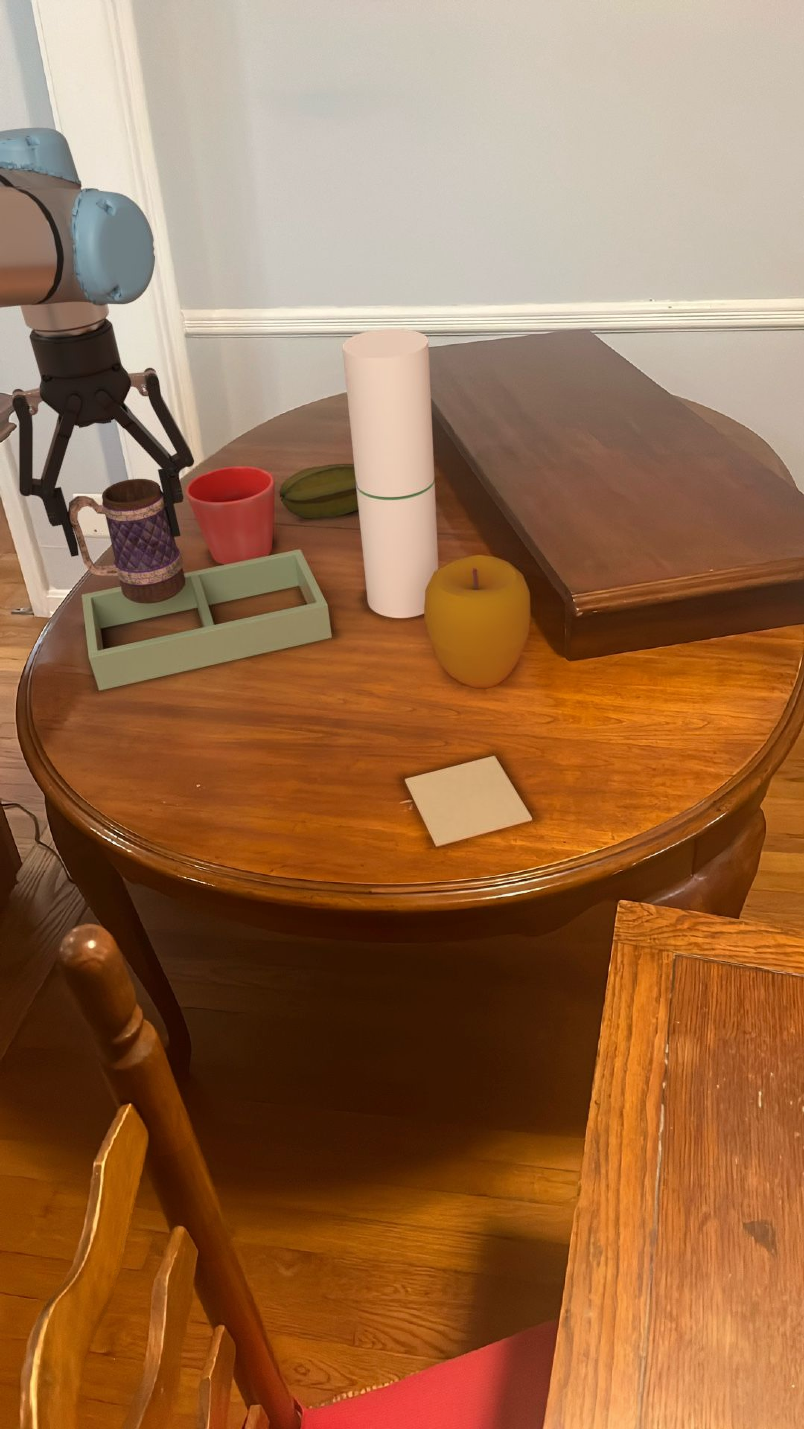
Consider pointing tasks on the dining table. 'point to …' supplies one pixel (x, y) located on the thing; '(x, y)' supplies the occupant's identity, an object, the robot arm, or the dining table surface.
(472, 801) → the coaster
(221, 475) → the flower pot
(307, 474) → the fruit
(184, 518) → the dining table surface
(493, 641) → the apple
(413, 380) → the container
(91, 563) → the mug
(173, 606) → the holder
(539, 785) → the dining table surface
